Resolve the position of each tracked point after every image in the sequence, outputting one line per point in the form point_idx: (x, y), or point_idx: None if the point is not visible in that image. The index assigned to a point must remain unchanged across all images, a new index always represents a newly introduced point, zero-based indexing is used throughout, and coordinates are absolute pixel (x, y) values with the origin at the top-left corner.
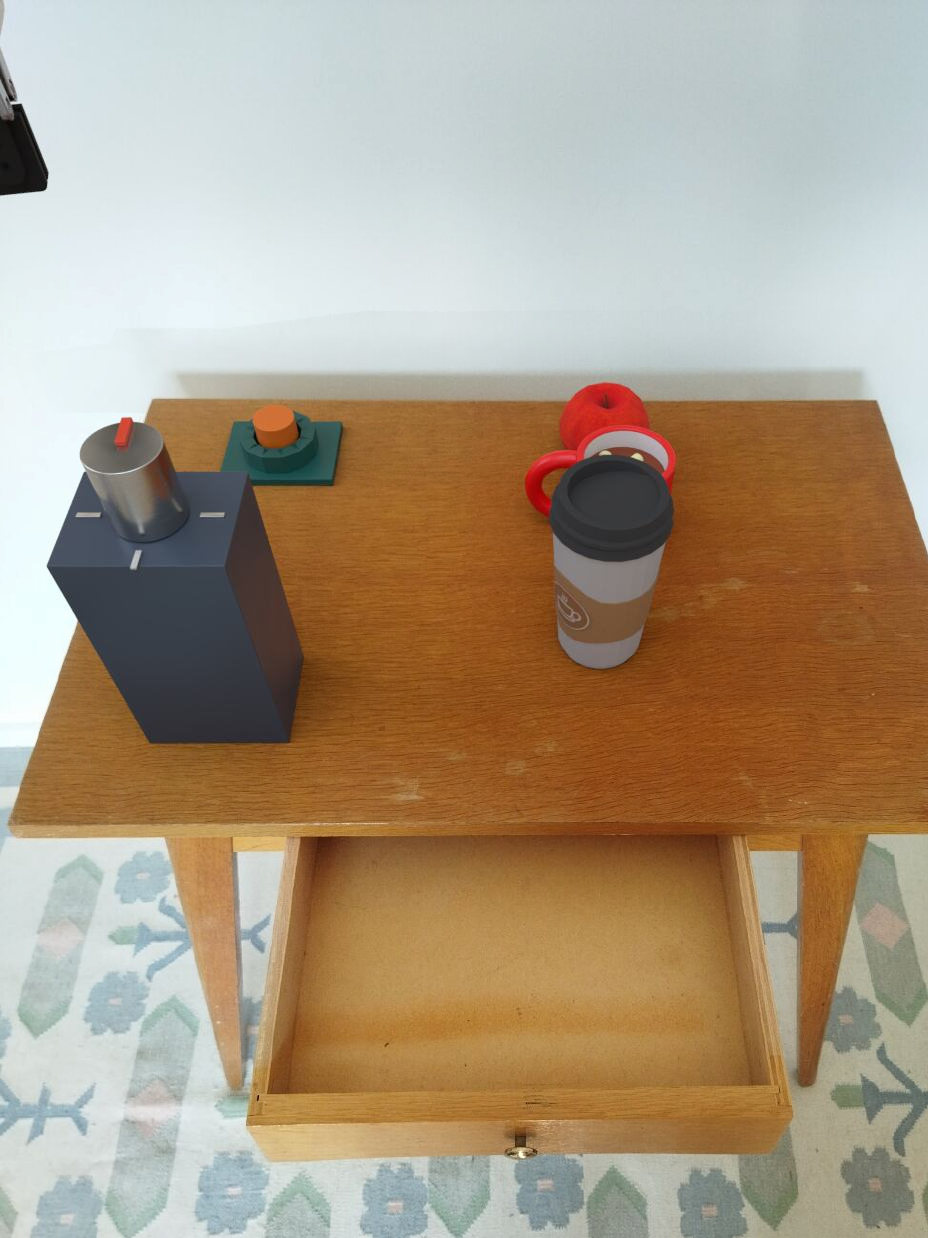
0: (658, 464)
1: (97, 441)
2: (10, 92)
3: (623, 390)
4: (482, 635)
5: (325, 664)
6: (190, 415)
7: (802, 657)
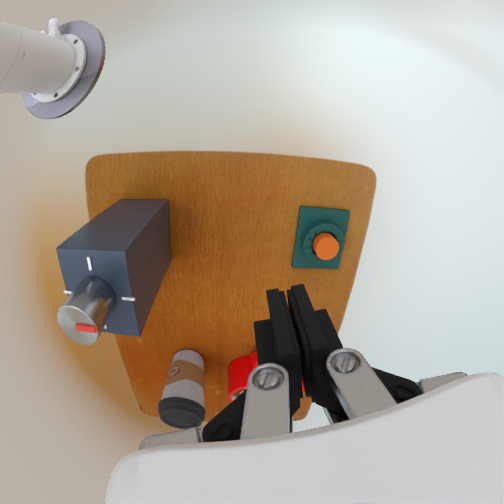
0: None
1: (76, 314)
2: (324, 410)
3: None
4: (187, 326)
5: (167, 269)
6: (363, 183)
7: None
